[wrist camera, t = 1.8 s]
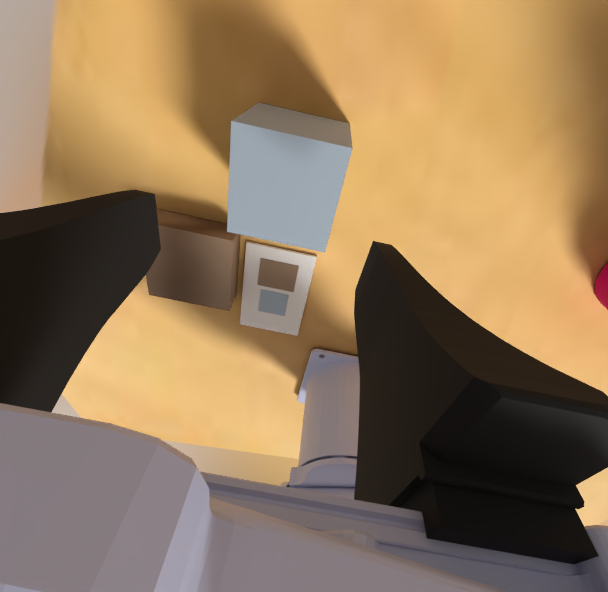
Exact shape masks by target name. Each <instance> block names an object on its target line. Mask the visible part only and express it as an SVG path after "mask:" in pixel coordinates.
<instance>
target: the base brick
mask: <svg viewBox="0 0 608 592" xmlns="http://www.w3.org/2000/svg"><path fill="white" fill-rule="evenodd" d="M157 218H158V227H159V236H160V245H161V250H160V252H159V254H158V255H157V257H156V259H155V261H154V263H153V264H152V266H151V268H150V269H149V271H148V272H147V273H146V277H147V284H148V291H149V295H153V296H158V297H163V298H168V299H173V300H178V301H182V302H187V303H192V304H197V305H202V306H207V307H212V308H217V309H222V310H227V311H230V308H231V306H232V304H233V301H234V299H235V297H236V293H237V278H238V263H239V249H240V234H236V233H231V232H227V224H225V223H220V222H216V221H211V220H206V219H202V218H197V217H192V216H188V215H183V214H178V213H174V212H169V211H164V210H159V209H157Z"/></svg>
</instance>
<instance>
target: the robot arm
mask: <svg viewBox="0 0 608 592" xmlns="http://www.w3.org/2000/svg"><path fill="white" fill-rule="evenodd" d="M160 250H161V245H160V236H159V227H158V218H157V209H156V200H155V194H152V193H147V192H142V191H138V190H129V191H121V192H115V193H110V194H105V195H100V196H95V197H90V198H86V199H81V200H76V201H72V202H67V203H61V204H56V205H50V206H45V207H39V208H34V209H28V210H22V211H14V212H7V213H0V592H608V526H602V525H593V526H585V527H584V526H583V524H582V522H581V520H580V518H579V516H578V514H577V512H576V510H575V508H576V509H580V508H582V507H584V500H583V498H582V496H581V495H580V493H579V491H578V489H577V487H576V485H577V484H579V483H580V482H582V481H584V480H586V479H588V478H589V477H591V476H593V475H595V474H596V473H598V472H600V471H602V470H604V469H605V468H607V467H608V396H607V395H606V394H605V393H603V392H602V391H600V390H598V389H596V388H594V387H591V386H589V385H587V384H585V383H583V382H581V381H579V380H577V379H575V378H573V377H570V376H568V375H566V374H564V373H562V372H560V371H558V370H556V369H554V368H552V367H550V366H548V365H546V364H544V363H542V362H540V361H538V360H537V359H535V358H533V357H531V356H529V355H528V354H526V353H524V352H522V351H520V350H519V349H517V348H515V347H513V346H512V345H510V344H508V343H507V342H505V341H503V340H502V339H500V338H499V337H497V336H496V335H494V334H493V333H491V332H489V331H488V330H486V329H485V328H483V327H482V326H480V325H479V324H478V323H476V322H475V321H473V320H472V319H471V318H469V317H468V316H467V315H465V314H464V313H463V312H461V311H460V310H459V309H458V308H456V307H455V306H454V305H452V304H451V303H450V302H449V301H448V300H447V299H445V298H444V297H443V296H442V295H441V294H440V293H439V292H438V291H437V290H436V289H434V288H433V287H432V286H431V285H430V284H429V283H428V282H427V281H426V280H425V279H424V278H423V277H422V276H421V275H420V274H419V273H418V272H417V271H416V270H415V268H414V267H413V266H412V265H411V264H410V263H409V262H408V261H407V260H406V259H405V258H404V257H403V256H402V255H401V254H400V253H399V251H398V250H396V249H395V248H394V247H393V246H392V245H389V244H384V243H380V242H375V241H373V243H372V246H371V248H370V251H369V254H368V257H367V259H366V262H365V265H364V268H363V270H362V273H361V276H360V279H359V281H358V284H357V287H356V290H355V307H354V317H355V329H356V339H357V349H358V357H357V356H352V355H347V354H342V353H337V352H332V351H327V350H322V349H313V350H312V351H311V353H310V357H309V360H308V363H307V367H306V370H305V373H304V377H303V380H302V383H301V387H300V390H299V393H298V397H297V400H298V402H300V403H305V407H304V417H303V426H302V436H301V446H300V455H299V465H298V467H293V468H291V473H290V481H289V482H283V483H282V484H280V486H276V485H271V484H266V483H260V482H255V481H249V480H244V479H238V478H232V477H227V476H221V475H216V474H210V473H205V472H200V471H199V469H198V468H197V466H196V465H195V463H194V461H193V460H192V458H190V457H188V456H186V455H185V454H183V453H182V452H180V451H179V450H177V449H175V448H174V447H172V446H170V445H169V444H167V443H165V442H164V441H162V440H161V439H159V438H156V437H153V436H150V435H147V434H143V433H140V432H137V431H133V430H130V429H127V428H124V427H120V426H117V425H114V424H110V423H105V422H100V421H94V420H89V419H83V418H77V417H72V416H67V415H62V414H56V413H51V412H52V410H53V408H54V406H55V404H56V403H57V401H58V399H59V397H60V395H61V394H62V392H63V390H64V388H65V386H66V384H67V383H68V381H69V379H70V378H71V376H72V374H73V373H74V371H75V369H76V368H77V366H78V364H79V363H80V361H81V359H82V358H83V356H84V354H85V353H86V351H87V350H88V348H89V347H90V345H91V343H92V342H93V340H94V339H95V337H96V336H97V334H98V333H99V331H100V330H101V328H102V327H103V326H104V324H105V323H106V322H107V320H108V319H109V318H110V317H111V315H112V314H113V313H114V312H115V311H116V309H117V308H118V307H119V306H120V305H121V304H122V302H123V301H124V300H125V299H126V298H127V296H128V295H129V294H130V293H131V292H132V291H133V289H134V288H135V287H136V286H137V285H138V283H139V282H140V281H141V280H142V278H143V277H144V276H145V275H146V273H147V272H148V271H149V269H150V268H151V266H152V264H153V263H154V261H155V259H156V257H157V255H158V254H159V252H160Z"/></svg>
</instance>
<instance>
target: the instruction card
mask: <svg viewBox="0 0 608 592" xmlns="http://www.w3.org/2000/svg"><path fill="white" fill-rule="evenodd" d="M316 259H317V256H315V255H310V254H305V253H300V252H296V251H291V250H286V249H281V248H277V247H272V246H267V245H263V244H258V243H253V242H248V241H247V243H246V254H245V267H244V279H243V291H242V303H241V315H240V325H245V326H250V327H255V328H260V329H265V330H270V331H275V332H280V333H285V334H290V335H295V336H298V332H299V328H300V324H301V320H302V316H303V311H304V307H305V303H306V299H307V295H308V291H309V287H310V283H311V279H312V275H313V271H314V267H315V263H316Z"/></svg>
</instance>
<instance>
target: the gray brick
mask: <svg viewBox="0 0 608 592" xmlns="http://www.w3.org/2000/svg"><path fill="white" fill-rule="evenodd" d="M351 151H352V140H351V131H350V123H346V122H341V121H337V120H333V119H328V118H324V117H320V116H315V115H311V114H307V113H302V112H298V111H293V110H289V109H285V108H280V107H276V106H272V105H267V104H263V103H257V104H256V105H254V106H253V107H251V108H250V109H248V110H247V111H245V112H244V113H242V114H241V115H239V116H238V117H236V118H235V119H233V120H232V121H231V139H230V165H229V192H228V219H227V232H231V233H236V234H240V235H245V236H250V237H254V238H259V239H264V240H269V241H273V242H278V243H283V244H287V245H292V246H297V247H302V248H306V249H311V250H316V251H321V252H325V250H326V247H327V243H328V239H329V235H330V231H331V227H332V224H333V220H334V216H335V212H336V208H337V205H338V201H339V197H340V193H341V189H342V186H343V182H344V178H345V174H346V170H347V167H348V163H349V159H350V155H351Z"/></svg>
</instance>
